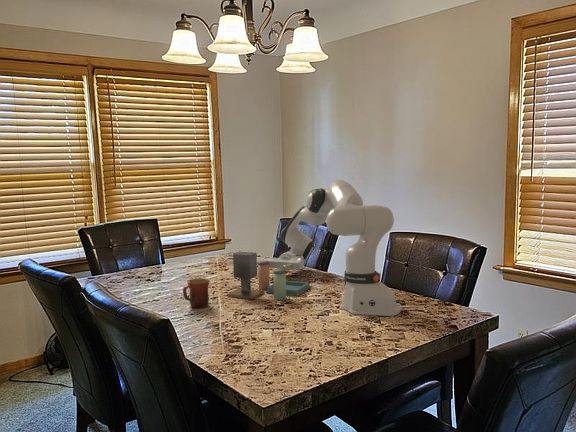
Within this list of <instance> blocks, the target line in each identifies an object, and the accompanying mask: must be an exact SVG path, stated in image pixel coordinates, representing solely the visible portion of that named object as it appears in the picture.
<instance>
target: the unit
mask: <svg viewBox="0 0 576 432" xmlns="http://www.w3.org/2000/svg"><path fill="white" fill-rule="evenodd" d="M257 257H258V256H257V252H251V251H238V252H235V253H233V254H232V260H233V261H232V263H233V266H232V267H233V278H235V279H240V287H239V288H237V289H235V290H233V291H231V292H228V294H227V297H228V298H235V299H244V300H245V299H246V300H253V301H254V300H255V299H257V298H258V297H260V296H262V295H263V294H265V290H264V289H252V285H251V282H252V281H251V279H253V278H255V277H258V258H257Z"/></svg>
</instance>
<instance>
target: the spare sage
mask: <svg viewBox="0 0 576 432" xmlns="http://www.w3.org/2000/svg"><path fill="white" fill-rule="evenodd" d="M272 272H273V284H274V294H273V299H274V301H285V300H287V295H286V281H287V275H286V274H287V271H286V270H285V269H280V268H273V271H272ZM284 299H285V300H284Z"/></svg>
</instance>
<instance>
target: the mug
mask: <svg viewBox="0 0 576 432" xmlns="http://www.w3.org/2000/svg"><path fill="white" fill-rule="evenodd" d="M210 282H211V281H210V279H209V278H205V277H203V278H202V277H198V278H197V277H196V278H191V279H188V280H187V285H184V287H183V289H182V294H183V298H184V299H185V300H186V301H189V304H190V307H191V308H193V309H203V308H207V306H208V305H209V302H210V297H209V294H210V293H209V286H210ZM187 290H189V297H188V293H187Z"/></svg>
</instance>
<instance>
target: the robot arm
mask: <svg viewBox="0 0 576 432" xmlns="http://www.w3.org/2000/svg"><path fill="white" fill-rule="evenodd" d="M363 202H364V201H363V198H362V196H361V195H360V194H359V193H358V192H357V190H356V189H355V188H354V187H353V185H351V184H350V183H349V182H348V181H345V180H343V179H337V180H334V181H333V182H332V183H331V184H330V185H329V186H328V188H322V187H321V188H316V189H315V188H314V189H312V190H311V191H309V192H308V194H307V197H306V205H303V206H301V207H300V208H299V209H298V210H297V211H296V212H295V214H293V216H292V217H291V219H290V220H289V221H288V223H287V224H286V226H285V227H284V228H283V229H282V230H281V231H280V234H279V236H280V242H283V244H285V245H287V246H288V247H290V248H291V250H288V251H286V252H284V253H282V254H280V255H279V257H267V258H264V259H262V260H261V261H269V269H285V270H286V272H287V271H288V272H289V271H293V270H295V271H300V270H303V269H304V266H305V260H307V259H308V258H309V257H310V256H311V255H312V254H313V251H314V250H315V242H314V240H313V239H312V238H310V237H309V235H306V234H305V233H304V232H302V231H301V230H300V229H299V228H298V227H297V226H298V225H299V224H300V223H301V222H303V223H305V224H309V225H311V226H320V225H323V224H325V222H326V227H327V229H328V231H329V232H330V233H331V234H332V235H335V236H342V237H347V236H359V237H358V240H357V241H356V242H355V243H354V244H352V245H350V246H349V247H348V248H347V249H346V251H345V270H344V273H343V274H344V285H345V286H344V294H343V301H342V303H341V308H342V309H343V310H345V311H347V312H349V314H350V315H363V316H380V317H381V316H382V317H393V316H397V315H399V314H400V313H402V310H403V307H402V304H401V303H398V302H397V300H396V296H395V293H394V291H393V290H392V289H391V288H390V287H388V286H387V285H385V283H384V282H382V281H381V274H382V273H381V272H378V271H376V256H377V255H376V254H377V250H378V246H379V244H380V241H382V238H384V236H385V235H386V234H387V233H388V232H390V230H391V229H392V228H393V226H394V223H395V219H394V214H393V212H392V210H391V209H390V208H389V207H388V206H383V205H364V203H363Z"/></svg>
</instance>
